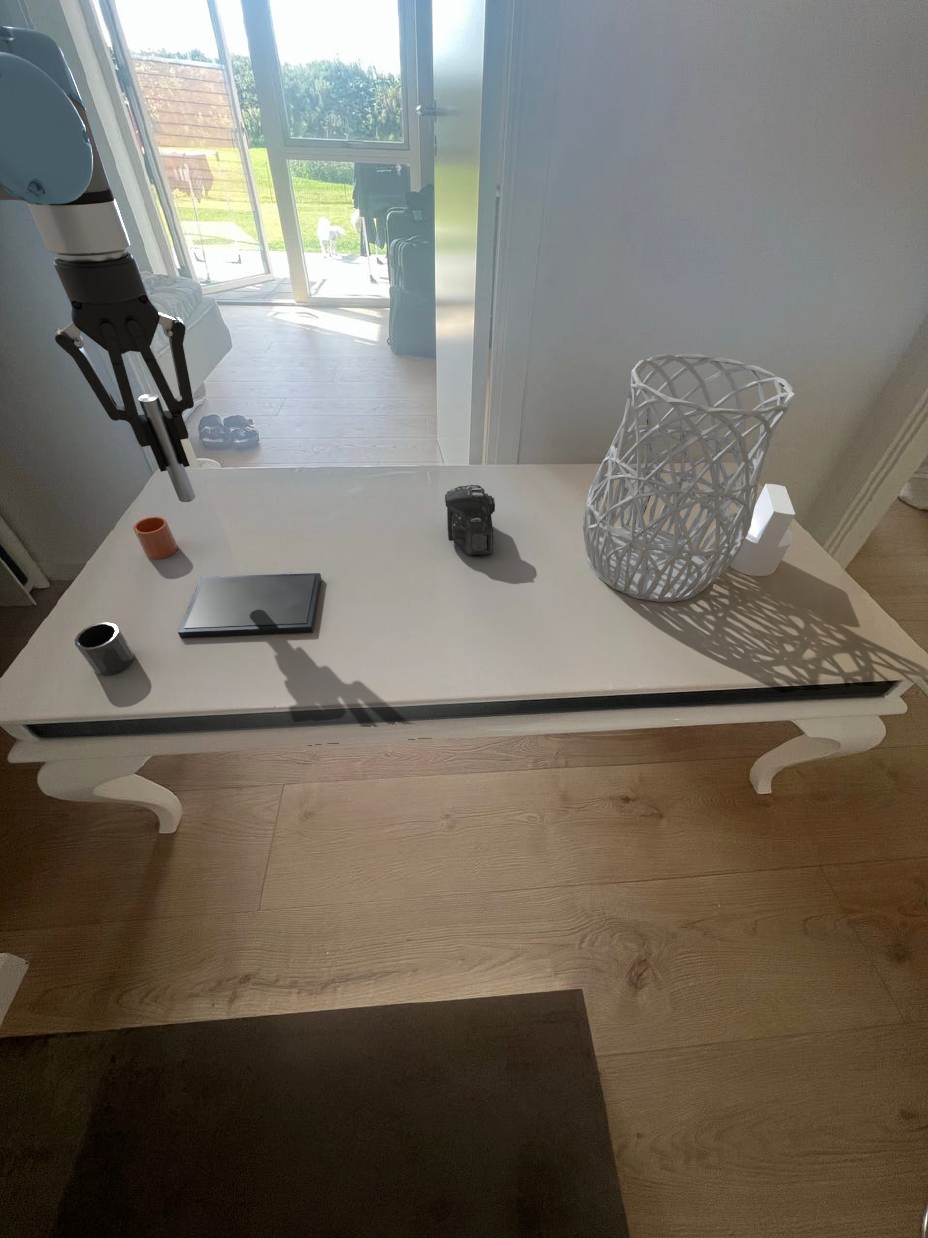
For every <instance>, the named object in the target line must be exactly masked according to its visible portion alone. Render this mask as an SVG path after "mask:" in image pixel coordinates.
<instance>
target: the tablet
mask: <svg viewBox="0 0 928 1238" xmlns="http://www.w3.org/2000/svg"><path fill="white" fill-rule="evenodd" d="M321 584H322V574H321V572H310V573H309V572H308V573H306V572H305V573H283V574H282V573H280V574H278V573H277V574H276V573H275V574H252V575H251V574H247V575H246V574H245V575H220V576H217V575H215V576H201V577H200V578H199V581H198V583H197V586H196V589H195V590H194V593H193V595H192V597H191V600H190V603H189V605H188V607H187V610H186V612H185V614H184V617H183V619H182V621H181V624H180V626H179V629H178V631H177V634H178V636H179V638H180V639H195V638H219V637H220V638H221V637H241V636H244V637H245V636H265V635H266V636H268V635H289V634H312V633H313V632H314V626H315V622H316V621H315V619H316V615H317V609H318V602H319V597H320V590H321Z"/></svg>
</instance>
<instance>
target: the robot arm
mask: <svg viewBox="0 0 928 1238" xmlns="http://www.w3.org/2000/svg"><path fill="white" fill-rule="evenodd" d="M86 111H87V108H86V105H85V103H84V101H83V99H82V97H81V94H80V91H79V90H78V87H77V84H76V81H75V78H74V76H73V73H72V71H71V69H70V68H69V65H68V62H67V60H66V58H65V55H64V53H63V51H62V48H61V47H60V45H59V44H58V43H57V41H56V40H54V38H53V37H51V36H49V35H48V34H47V33H45V32H43V31H40V30H36V29H32V28H27V27H26V28H24V27H16V26H2V25H0V201H22V202H26V205H27V207H28V209H29V212H30V214H31V216H32V219H33V221H34V223H35V225H36V228H37V230H38V232H39V235H40V237H41V240H42V241H43V243H44V246H45V248H46V250H47V251H49V252H50V253H52V254H55V255H56V256H55V257H54V258H53V261H52V264H53V266H54V269H55V271H56V273H57V276H58V278H59V280H60V282H61V285H62V287H63V289H64V291H65V294H66V296H67V298H68V301H69V303H70V306H71V321H70V322H69V323H68V324H67V325H65V326H64V327H63V328H61V327H58V328H56V329H55V330H54V340H55V342H56V344H57V345H58V346H59V347H61V348H62V349H63V351H65V352H66V353H67V354H68V355H69V356H70V357H72V359H73V360H74V362H75V363H76V365H77V367H78V369H79V370H80V372H81V374H82V375H83V376H84V378H85V380H86V382H87V384H88V385H89V386H90V389H92V391H93V393H94V395H95V396H96V398H97V399H98V401H99V403H100V404H101V406H102V407H103V409H104V411H105V412H106V414H107V416H108V417H109V419H111V420H112V421H115V422H118V421H125V422H127V423H128V424H130V427H131V429H132V431H133V434H134V436H135V438H136V441H137V444H138V445H139V446H141V447H142V448H144V447H150V449H151V451H152V454H153V456H154V458H155V461H156V464H157V467H158V469H159V472H168V471H167V469H166V466H165V463H164V461H163V458H162V456H161V453H160V451H159V449H158V446H157V444H156V441H155V439H154V436H153V434H152V431H151V429H150V426H149V424H148V421H147V419H146V417H145V414H144V413H143V414H139V412H138V408H137V405H136V402H135V397H134V395H133V391H132V387H131V383H130V380H129V377H128V373H127V369H126V366H125V362H124V359H123V355H124V354H126V353H129V352H133V353H134V352H135V353H140V355H141V357H142V359H143V361H144V363H145V366H146V367H147V369H148V371H149V373H150V376H151V377H152V379H153V381H154V383H155V385H156V388H157V389H158V391H159V394H160V396H161V397H162V399H163V401H164V403H165V405H166V408H167V409H168V410H163V411H164V413H165V418H166V421H167V423H168V426H169V429H170V431H171V434H172V437H173V439H174V442H175V445H176V447H177V450H178V453H179V455H180V458H181V461H182V463H183V466H184V467H185V468H187V467H190V466H191V465H190V462H189V460H188V457H187V453H186V451H185V448H184V446H183V443H182V440H187V439H189V432H188V429H187V426H186V424H185V420H184V417H183V413H184V412H185V411H186V410H190V409H193V408H194V406H195V402H194V398H193V391H192V387H191V382H190V380H191V379H190V376H189V370H188V364H187V359H186V353H185V348H184V341H185V336H186V330H187V328H186V325H185V323H184V322H183V320H182V319H181V317H180V316H176V315H175V316H169V315H167V314H163V313H162V312H159V310H158V308H157V307H156V305H154V303H153V302H152V301H151V300H150V298H149V295H148V292H147V289H146V286H145V283H144V280H143V277H142V274H141V272H140V269H139V265H138V263H137V259H136V258H135V256H134V255H132V254H131V252H128V251H127V250H128V249H129V248H130V246H131V242H130V240H129V237H128V233H127V230H126V228H125V224H124V222H123V219H122V216H121V213H120V209H119V206H118V204H117V201H116V198H115V197H114V195H113V192H112V188H111V184H110V182H109V178H108V176H107V172H106V170H105V167H104V164H103V160H102V158H101V155H100V151H99V149H98V148H99V147H98V146H97V143H96V139H95V136H94V134H93V130H92V128H91V125H90V122H89V119H88V116H87V113H86ZM159 325H160V326H161V328H162V332H163V334H164V335H165V336H166V337H167V338H168V341H169V347H170V352H171V357H172V363H173V367H174V373H175V377H176V382H177V387H178V392H179V396H177V397H175V395H174V393H173V392H172V389H171V387H170V385H169V383H168V381H167V379H166V377H165V374H164V372H163V371H162V368H161V366H160V364H159V362H158V360H157V357H156V356H155V353H154V351H153V349H152V347H151V345H152V343H153V340H154V338H155V334H156V332H157V328H158V326H159ZM81 333H83V334H84V335H85V336H87V337H88V338H89V339H90V340H92V341H93V342H95V343H96V344H97V345H99V346H100V347H101V348H102V349H104V350H105V351H107V353H108V357H109V360H110V363H111V367H112V370H113V373H114V376H115V379H116V384H117V386H118V390H119V393H120V397H121V400H122V404H123V405H118V404H117V402H116V400H115V398H114V397H113V395H112V393H111V391H110V390H109V388H108V386H107V385H106V383H105V382H104V379H103V378H102V376H101V375H100V373H99V371H98V370H97V369H96V366H95V365H94V363H93V361H92V359H91V358H90V356H89V354H88V353H87V352H86V350H85V348H84V344H85V342H84V338H83V337H82V335H81Z"/></svg>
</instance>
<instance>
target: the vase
mask: <svg viewBox="0 0 928 1238" xmlns="http://www.w3.org/2000/svg"><path fill="white" fill-rule="evenodd" d="M686 359H688V360H695V361H693V362H689V361H688V360H686ZM662 360H663V361H662ZM654 361H662V362H661V363H660V364H657V362H656V363H655V362H654ZM674 361H675V362H676V363H679V364H681V365H682V366H684V367H682V368H681V369H679V370H678V371H677V372H675V373H674V374H673V375H671V376H669V375H668V374H667V372H666V371H665V370H664V369H663V368H664V367H665V366H667V365H669V364H671V363H672V362H674ZM708 363H709V364H711V365H712V366H714V367H715V368H717V369H718V370H719V371H718V372H716V373H714V374H713V375H710V376H708V377H707V378H705V379H703V377H702V376H701V375H700V374H699V373H698V371H697V370H696V369H695V367H698V366H702V365H704V364H708ZM721 363H723V364H727V365H732V366H736V367H732V368H728V369H725V367H724V366H723V365H722V364H721ZM647 366H650V367H652V368H654V369H652V370H651V371H650V372H649V373H648V374H647V375H646V377H645V378H644V380H643V379H642V377H641V376H640V375H641V374H642V373H643V371H644V370H645V369H646V367H647ZM688 371H689V373H690V374H692V376H693V377H694V378H695V379H696V380H697V382H698V384H697V385H696V386H695V387H694V388H692V389H691V390H690V391H689V392H687V393H686V394H685V395H683V396H682V397H681V398H680V399H679V397H678V393H677V390H676V389H675V388H676V387H675V385H674V381H675V380H677V379H678V378H679V377H681V376H682V375H683V374H684V373H686V372H688ZM743 371H746V372H747V373H748V374H749V376H750V377H751V378H752V379H753V381H751V382H749V383H746V384H744V385H742V386H740V387H738V386H737V384H736V381H735V380H734V378H733V375H732V373H737V372H743ZM657 373H659V375H660V376H661V377H662V378H663V379H664V381H665V382H664V383H663V384H662V385H661V386H660V387H659V388H658V390H656V389H654V388H653V387H650V385H648V383H649V382H650V381H651V380H652V379H653V378H654V377H655V375H656V374H657ZM757 373H759V374H760V375H763V376H765V377H767V378H763V379H761V378H760V377H759V375H758V374H757ZM723 375H725V378H726V379H727V382H728V384H729V385H730V387H731V389H732V391H730V392H729V393H728V394H727V395H725V396H724V397H723V398H721V399H720V400H718V402H716V403H715V404H713V400H712V399H711V395H710V393H709V391H708V388H707V385H706V384H707V383H709V382H711V381H713V380H715V379H717V378H719V377H722V376H723ZM770 383H771V384H772V383H773V384H774V387H775V389H776V392H777V394H776V395H774V396H772V397H771V398H768V399H766V398H765V392H764V384H770ZM667 387H668V388H669V390H670V393H671V396H672V397H670V396H668V395H666V394H664V393H663V392H664V391H665V389H666V388H667ZM755 387H757V390H758V394H759V400H760V403H759V404H758V405H757V406H756V407H754V408H753V409H752V410H751V409H743V405H742V401H741V397H740V393H741V392H743V391H746V390H749V389H751V388H755ZM700 388H701V391H702V393H703V396H704V398H705V402H706V404H707V405H703V404H699V403H696V402H692V401H687V400H688V399H689V398H690V397H691V396H693V394H695V393H696V392H697V391H698V390H700ZM782 388H783V389H784V390H785V392H783V389H782ZM637 389H638V390H637ZM649 394H650V395H651V397H650V395H649ZM641 395H642V397H643V402H642V403H641V404H639V405H638V400H639V398H640V396H641ZM734 396H735V397H734ZM732 397H734V399H735V403H736V409H735V408H722V407H721V406H722V405H724V404H725V403H726V402H727V401H729V400H730V399H731V398H732ZM794 397H795V393H794V387H793V386H792V385H791V384H790V383H789V382H788V381H787V380H786V379H785V378H782V377H779V376H777V375H775V374H774V373H773V372H771V371H768V370H766V369H764V368H762V367H760V366H757V365H750V364H745V363H743V362H741V361H739V360H735V359H731V358H725V357H721V356H712V357H711V356H708V355H704V354H703V353H681V354H678V355H672V354H659V355H653V356H651V357H649V358H647V359H641V360H638V362H637V363H636V364H635V366H634V367H633V368H632V370H631V374H630V387H629V391H628V393H627V398H626V402H625V403H626V404H625V408H624V413H623V414H624V415H623V419H622V421H621V423H620V425H619V427H618V430H617V432H616V433H615V436H614V438H613V440H612V443H611V444H610V447H609V449H608V451H607V453H606V455H605V456H604V458H603V460H602V461H601V464H600V466H599V468H598V470H597V472H596V474H595V477H594V479H593V481H592V483H591V485H590V488H589V490H588V495H587V499H586V502H585V504H584V505H585V506H584V511H583V518H582V523H583V524H582V532H583V539H584V543H585V544H584V546H585V551H586V555H587V563H588V564H589V566H590V567H591V569H592V571H593V572H594V573H595V574H596V576H597V578H598V579H600V580H601V581H602V582H603V583H605V584H606V585H607V586H609V587H611V589H613V590H615V591H618V592H620V593H623V594H625V595H627V596H629V597H631V598H633V599H635V600H642V601H643V600H644V601H651V602H658V603H659V602H660V603H675V602H681V601H686V600H689V599H691V598H694V597H695V596H697V595H698V594H700V593H701V592H703V591H704V590H705V589H706V588H707V587H709V586H710V585H711V584H712V583H714V582H715V581H716V580H717V579H718V578H719V577H721V576H722V574H723V573H724V572H726V570H727V569H728V568H729V567H730V566H729V565H730V564H731V562H732V561H733V560H734V559H735V557H736V555H737V553H738V552H739V550H740V548H741V546H742V544H743V542H744V540H745V538H746V537H747V534H748V531H749V529H750V527H751V522H752V517H753V512H754V507H755V505H756V503H757V499H758V498H757V496H758V486H759V483H760V478H761V473H762V470H763V466H764V463H765V461H766V456H767V453H768V450H769V448H770V444H771V442H772V439H773V437H774V434H775V431H776V428H777V426H778V425H779V423H780V422H781V420H782V419H783V418H784V416H785V414H786V413H787V412H788V409H789V407H790V404H791V402H792V400H793V398H794ZM784 398H785V400H784ZM775 402H776V405H774V406H769V407H766V406H768V405H770V404H773V403H775ZM664 403H668V404H669V406H671V409H670V410H669V411H668V412H667V413H666V414H665V415H664V416H663V417H662V419H661V417H660V415H659V413H658V410H657V408H656V405H655V404H664ZM681 406H682V407H687V408H691V409H694V410H692V411H688V412H686V413H685V412H684V411H683V410H682V408H681ZM720 407H721V408H720ZM674 412H676V413H677V414H676V415H675V416H673V417H671V418H669V417H670V416H671V415H672V414H673V413H674ZM645 413H646V425H640V421H641V419H642V418H643V416H644V414H645ZM767 413H769V414H768V415H766V414H767ZM725 414H727V415H736V416H734V417H731V418H728V417H726V416H725ZM652 415H653V417H654V419H655V421H656V423H657V424H656V425H653V423H652V421H653V420H652ZM699 415H702V416H700V417H699V419H698V420H697V421H696V422H694V421H693V420H692V419H691V418H692V417H696V416H699ZM709 416H710V422H711V427H709V428H707V429H706V430H703V429H699V428H698V427H699V426H700V425H701V424H702V423H703V422H704V421H705V420H706V419H707V418H708V417H709ZM751 417H753V418H754V419H756V420H757V421H759V422H758V423H757V424H755V425H754V426H752V427H751V428H749V429H747V430H746V421H747V420H748V419H750V418H751ZM633 418H634V421H633V422H632V423H631V421H632V420H633ZM717 420H718V421H720V422H719V423H717ZM676 422H678V423H679V425H678V424H673V423H676ZM630 423H631V425H630V426H629V424H630ZM685 423H686V424H687V426H688V427H689V428H687V427H685ZM735 423H736V424H735ZM726 427H727V428H728V429H729V431H728V432H727V433H726V434H724V436H719V432H718V430H721V429H723V428H726ZM738 428H739V430H738ZM758 428H760V429H759V436H758V437H757V439H756V440H755V441H754V443H753V444H752V446H751V447H750V449H749V450H748V449H747V437H748V436H750V435H751V434H752V433H754V432H755V431H756V430H757V429H758ZM658 431H659V432H660V433H658V434H657V435H655V434H656V433H657V432H658ZM644 433H645V434H644ZM678 433H679V437H680V438H679V437H677V436H676V435H675V434H678ZM642 434H644V435H642ZM690 435H691V436H693V437H691V438H688V437H689V436H690ZM732 435H733V436H734V438H735V439H734V440H731V439H729V438H730V437H732ZM635 438H636V439H635ZM660 438H662V439H663V442H664V446H665V450H664V451H663V452H661V453H660V454H659V455H657V452H656V450H655V448H654V446H653V444H652V442H655V440H658V439H660ZM669 438H670V439H672V440H673V441H674V442H675V444H673V446H672V445H671V443H670V440H669ZM633 439H635V440H636V441H635V443H634V444H633V445H632V446H631V448H629V450H628V451H627V452H626V453H625V455H624V451H623V449H624V447H625V446H626V445H627V444H629V443H630V442H631V441H633ZM709 441H714V446H713V445H712V444H711V443H710V442H709ZM697 442H699V445H700V447H701V450H702V451H703V455H704V456H703V457H702V458H700V459H698V460H697V461H695V462H694V459H693V457H692V455H691V453H690V451H689V449H688V448H690V447H691V446H693V445H694V444H695V443H697ZM723 445H724V446H725V448H723V449H722V446H723ZM644 447H645V453H644V461H643V462H644V463H643V466H642V449H643V448H644ZM650 453H651V456H652V458H653V461H651V462H650V464H649V458H650ZM679 454H680V471H679V470H676V467H675V461H674V458H675V457H676V456H679ZM727 454H732V456H733V457H734V461H735V462H736V464H737V466H738V468H737V469H736V470H735V471H733V472H732V473H731V474H730V475H728V474H727V471H726V468H725V466H724V464H723V462H722V458H723V457H724V456H726V455H727ZM739 454H741V458H740V455H739ZM755 455H756V457H755ZM665 456H666V457H665ZM664 457H665V459H663V461H661V462H660V460H661V459H662V458H664ZM686 458H687V461H688V463H689V467H688V468H687V469H686ZM634 460H636V467H630V466H631V464H633V462H634ZM627 461H628V462H627ZM659 462H660V463H659ZM702 463H703V465H702V467H701V468H700V469H699V471H698V473H697V472H696V467H698V466H700V465H701V464H702ZM667 464H669V468H665V467H666V466H667ZM708 471H709V473H710V477H711V481H708V480H707V479H705V478H703V476H704V475H706V473H707V472H708ZM720 472H721V476H722V477H723V481H722V482H721V483H720V481H721V478H720ZM750 472H751V477H750ZM661 474H670V477H671V481H670V482H668V483H667V482H666V481H665V479H664V478H663V477H662V475H661ZM740 478H741V482H740V486H736V485H737V484H738V482H739V480H740ZM614 481H618V482H617V485H616V487H615V491H614V484H615V483H614ZM683 483H688V485H686V487H685V488H682V487H683ZM634 484H635V486H634ZM698 484H702V485H704V486H707V487H708V488H710V489H711V490H707V489H706V490H704V489H700V488H699V486H698ZM645 487H647V488H648V490H647V491H646V492H645ZM660 488H661V489H660ZM629 492H630V495H629V496H628V497H626V496H627V495H628V493H629ZM735 493H736V494H735ZM697 495H698V496H697ZM653 496H655V497H654V498H653V501H652V503H651V505H650V508H649V515H648V516H649V517H648V523H647V524H646V523H645V519H644V517H645V514H646V510H647V508H648V505H649V502H650V499H651V497H653ZM671 498H672V502H671ZM601 499H602V501H601ZM659 499H660V500H661V501H662V502H663V503H664V504H663V506H662V507H661V509H660V513H659V515H658V516H657V517H656V518H654V517H655V515H656V510H657V505H658V501H659ZM688 499H690V500H689V501H687V500H688ZM600 501H601V505H600ZM733 503H734V504H735V506H736V507H737V509H738V510H737V512H735V513H734V512H733V513H731V508H730V506H731V505H732V504H733ZM697 504H699V511H698V513H697V514H696V516H695V517H694V519H693V521H692V523H691V525H690V527H689V529H688V528H687V525H686V524H687V523H688V520H689V518H690V516H691V513H692V510H693V508H694V507H695V506H696V505H697ZM599 505H600V506H599ZM627 509H628V510H627ZM626 510H627V515H626V519H625V511H626ZM684 510H686V511H685V513H684V515H683V517H682V515H681V512H682V511H684ZM705 510H707V511H706V512H707V513H706V515H705V517H704V520H703V521H702V522H701V520H702V516H703V514H704V512H705ZM617 511H618V512H617ZM731 518H732V519H731ZM618 520H619V523H620V524H619V525H620V526H615V524H616V523H617V521H618ZM668 520H669V521H668ZM714 521H715V525H714V526H713V527H712V529H711V530H710V532H709V533H708V534H707V532H708V530H709V528H710V527H711V526H712V524H713V523H714ZM667 522H668V523H667ZM700 522H701V523H700ZM666 523H667V526H666V530H663V528H664V526H665V524H666ZM698 524H699V525H698ZM672 528H673V533H670V532H671V529H672ZM721 529H722V532H721ZM682 534H683V535H682ZM706 534H707V536H706ZM714 535H715V536H714ZM705 536H706V537H705ZM713 537H714V541H713V542H712V544H711V545H710V546H709V547H708V548H706V547H707V545H708V544H709V543H710V541H711V540H712V538H713ZM704 538H705V539H704ZM703 540H704V542H703ZM702 542H703V543H702ZM701 544H702V545H701ZM700 546H701V547H700ZM699 547H700V548H699ZM732 549H733V550H732ZM709 555H711V556H710V557H709V558H708V559H706V558H707V556H709Z"/></svg>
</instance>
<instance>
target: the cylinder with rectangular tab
mask: <svg viewBox="0 0 928 1238" xmlns="http://www.w3.org/2000/svg"><path fill="white" fill-rule="evenodd" d="M795 516H796V512H795V509H794V506H793V504H792V501H791V498H790V496H789V492H788V490H787V488H786V486H785V485H780V484H775V483H765V484H764V486H763V488H762V491H761V492H760V494H759V496H758V498H757V500H756V502H755V507H754V512H753V517H752V522H751V527H750V529H749V531H748V534H747V537H746V538H745V540H744V542H743V544H742V546H741V548H740V550H739V552H738V553H737V555H736V557H735V559H734V560H733V561H732V562H731V564H730V565H729V566H728V567H730V568H731V569H733V570H735V571H736V572H737V573H738V572H739V573H741V574H744V575H747V576H751V577H768V576H770V575H772V574H774V573H775V572H776V570H777V569H778V567H779V565H780V564H781V562H782V560H783V558H784V557H785V555H786V553H787V551H788V549H789V547H790V546H791V544H792V542H793V540H794V535H793V533H792V532H791V530H790V529H789V527H790V525H791V523H792V521H793V519H794V518H795ZM732 550H733V549H732Z"/></svg>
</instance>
